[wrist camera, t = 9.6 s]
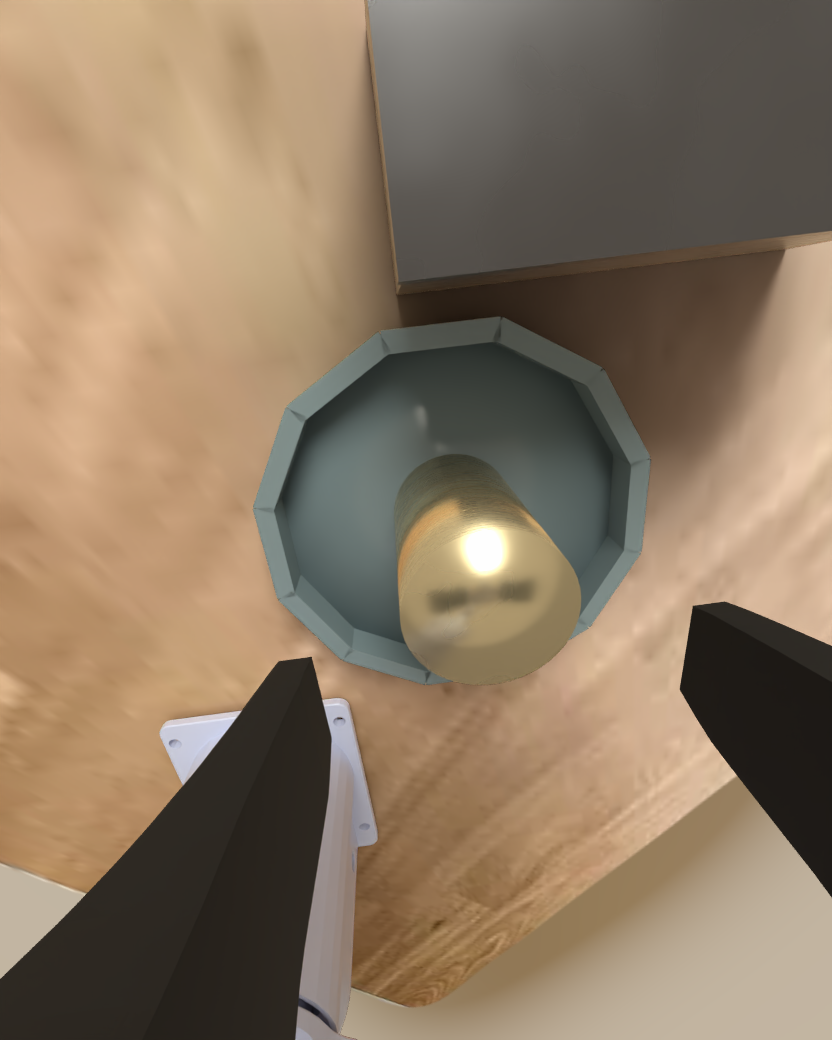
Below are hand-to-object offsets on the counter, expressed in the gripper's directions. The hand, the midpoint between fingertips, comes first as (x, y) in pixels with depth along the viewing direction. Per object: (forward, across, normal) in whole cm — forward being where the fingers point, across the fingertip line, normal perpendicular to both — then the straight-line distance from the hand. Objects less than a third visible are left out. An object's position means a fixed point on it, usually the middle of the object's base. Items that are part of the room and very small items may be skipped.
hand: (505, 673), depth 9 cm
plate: (+8, 0, 0) cm, 9 cm away
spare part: (+8, 0, 0) cm, 8 cm away
